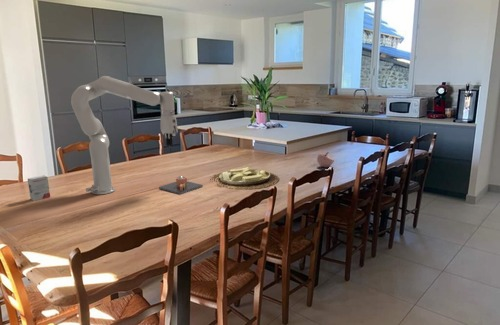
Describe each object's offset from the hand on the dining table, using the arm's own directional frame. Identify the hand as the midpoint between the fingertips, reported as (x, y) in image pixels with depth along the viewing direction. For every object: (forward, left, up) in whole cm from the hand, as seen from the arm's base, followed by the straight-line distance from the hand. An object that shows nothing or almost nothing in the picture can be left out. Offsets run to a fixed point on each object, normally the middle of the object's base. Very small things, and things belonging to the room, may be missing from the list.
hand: (169, 145), depth 216 cm
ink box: (-57, +41, -25) cm, 75 cm away
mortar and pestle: (+98, -54, -25) cm, 115 cm away
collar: (-1, -10, -24) cm, 26 cm away
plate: (+38, -26, -26) cm, 53 cm away
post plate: (+1, -7, -25) cm, 26 cm away
